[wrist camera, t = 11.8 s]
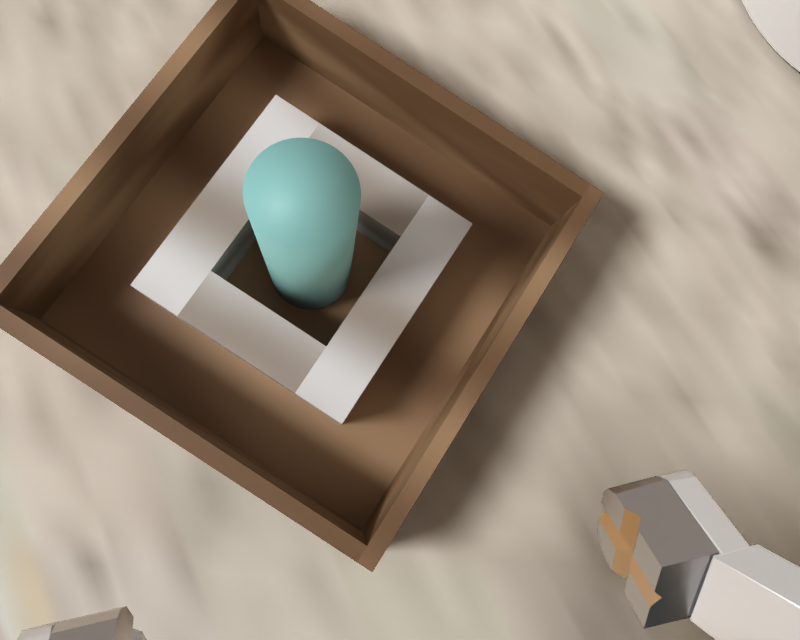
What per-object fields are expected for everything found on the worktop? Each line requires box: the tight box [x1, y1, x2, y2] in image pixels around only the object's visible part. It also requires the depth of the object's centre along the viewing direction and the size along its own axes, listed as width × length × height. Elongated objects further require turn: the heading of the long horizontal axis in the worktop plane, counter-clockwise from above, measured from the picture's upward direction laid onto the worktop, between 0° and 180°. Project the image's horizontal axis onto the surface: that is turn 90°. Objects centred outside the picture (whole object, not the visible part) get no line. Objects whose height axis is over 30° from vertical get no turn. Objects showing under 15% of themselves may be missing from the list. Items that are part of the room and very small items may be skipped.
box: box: [0, 0, 603, 572], centre depth 25 cm, size 16×16×4 cm
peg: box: [243, 137, 361, 309], centre depth 22 cm, size 3×3×9 cm
